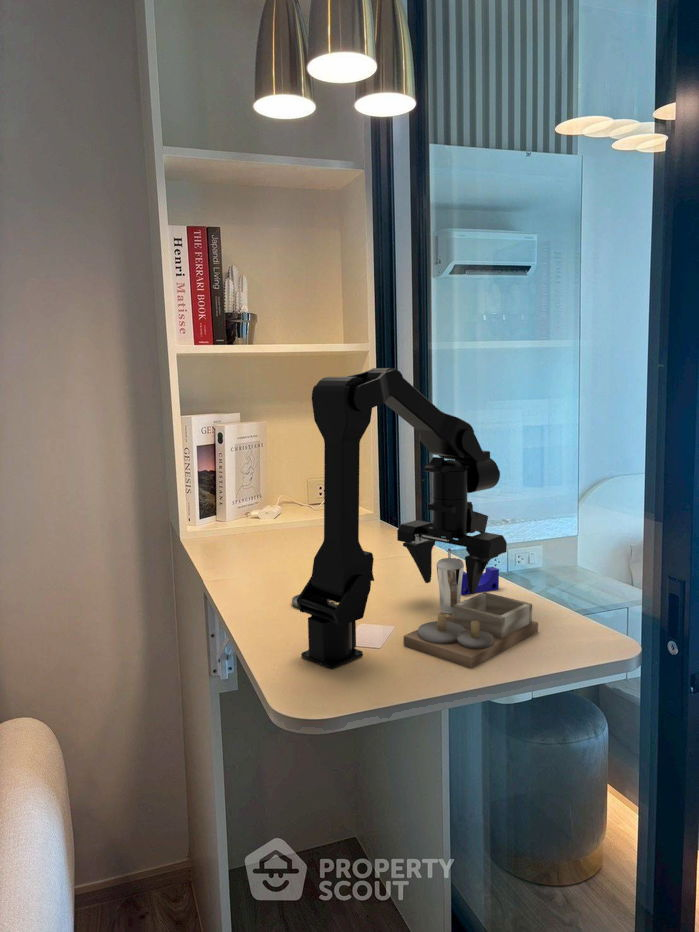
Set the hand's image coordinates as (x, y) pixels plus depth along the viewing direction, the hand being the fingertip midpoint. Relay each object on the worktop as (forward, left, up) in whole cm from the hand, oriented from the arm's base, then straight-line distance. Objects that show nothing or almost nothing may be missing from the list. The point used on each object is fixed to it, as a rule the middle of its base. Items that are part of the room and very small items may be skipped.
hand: (449, 587), depth 120 cm
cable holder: (+12, +3, -4) cm, 13 cm away
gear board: (-8, -10, -4) cm, 13 cm away
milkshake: (0, 0, -4) cm, 4 cm away
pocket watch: (-13, +19, -4) cm, 23 cm away
